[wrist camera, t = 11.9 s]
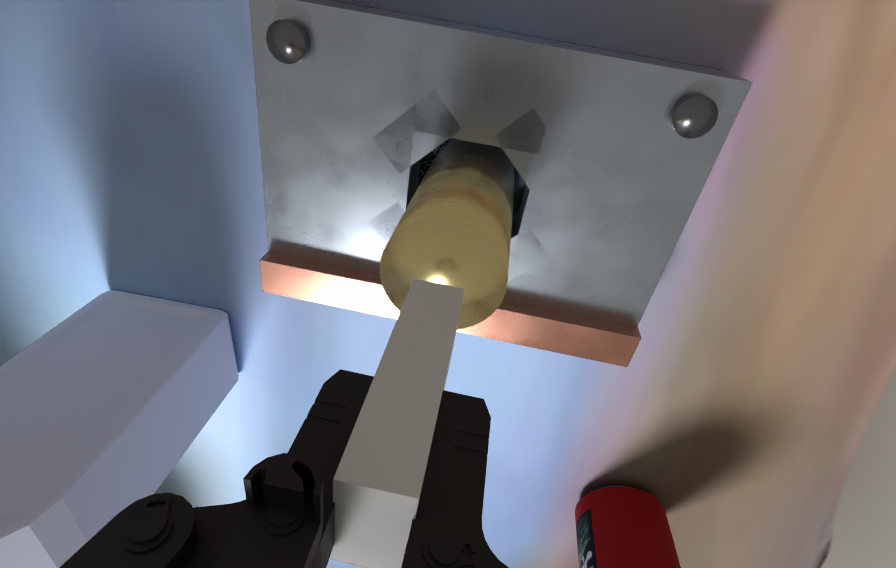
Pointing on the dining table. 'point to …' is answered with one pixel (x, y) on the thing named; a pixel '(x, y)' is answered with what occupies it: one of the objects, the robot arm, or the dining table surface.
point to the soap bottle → (102, 417)
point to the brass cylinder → (456, 230)
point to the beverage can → (623, 530)
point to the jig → (492, 123)
